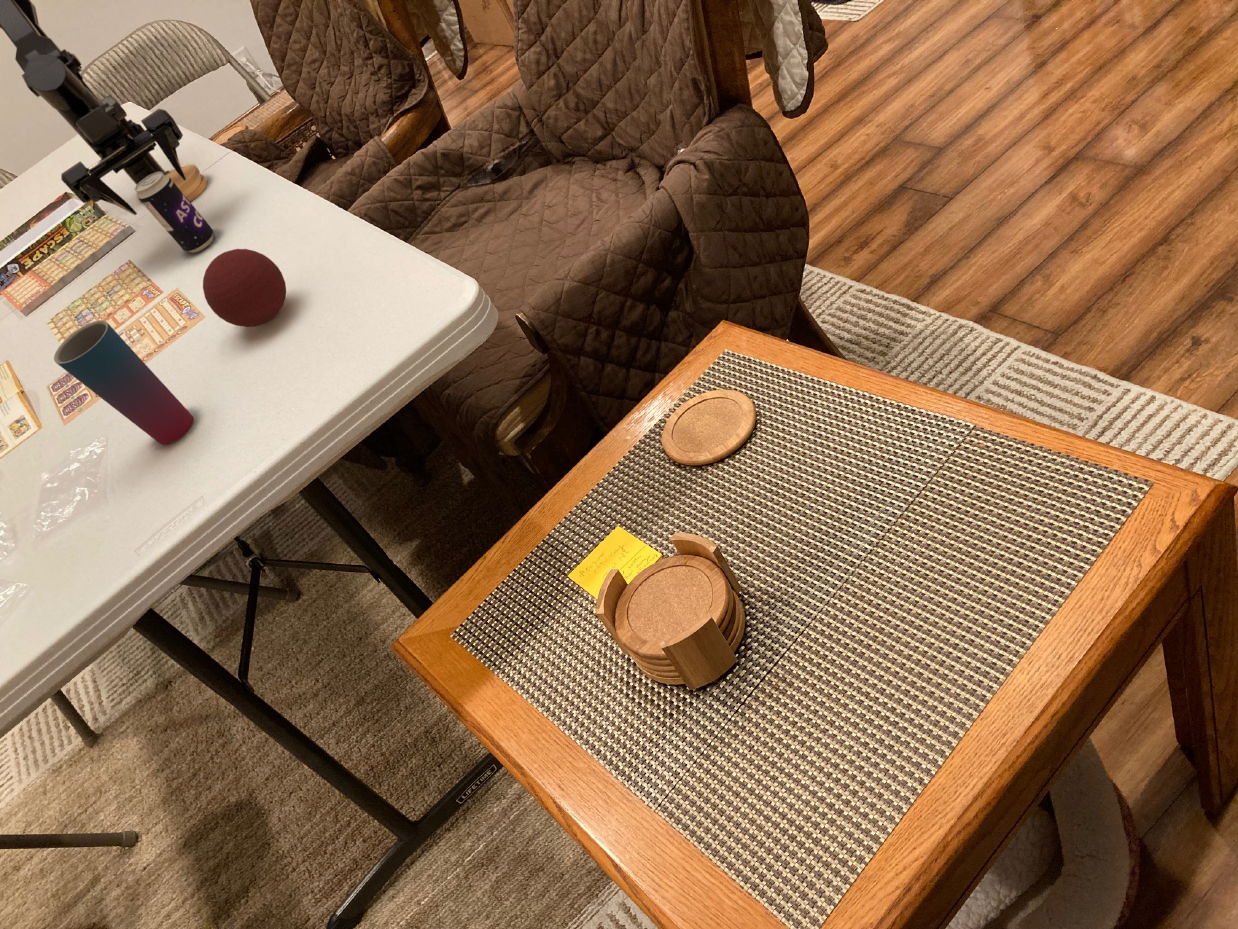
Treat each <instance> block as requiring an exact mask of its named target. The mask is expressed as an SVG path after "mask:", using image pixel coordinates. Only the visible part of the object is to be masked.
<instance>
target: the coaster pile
mask: <svg viewBox="0 0 1238 929" xmlns="http://www.w3.org/2000/svg"><path fill="white" fill-rule="evenodd" d="M181 168H182V170H183V172H184V175H185V177H186V180H185V181H184V180H183V179H182V178H181V177H180V176H179V174H178V173H177V171H176V170H175V169H174V170H172V171H170V173H169V174H167V175H166V176H168V177H170V178H171V180H172V181H173V182H174V183H175V184H176V186H177V187H178V188H179V189H180V190H181V192H182V193H183V194H184V195H185V196H186V198H187V199H188V200H189V201H190V202H192V201H194V200H195V199H196V198H197V197H199V196H200V195H201V194H202V193H203V192H204V190H205V189H206V188H207V186H208V179H207V178H206V177H205V176H204V174H202V173H201V171H200V169H199V168H198V167H197V165H195V164H186V165H181Z"/></svg>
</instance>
